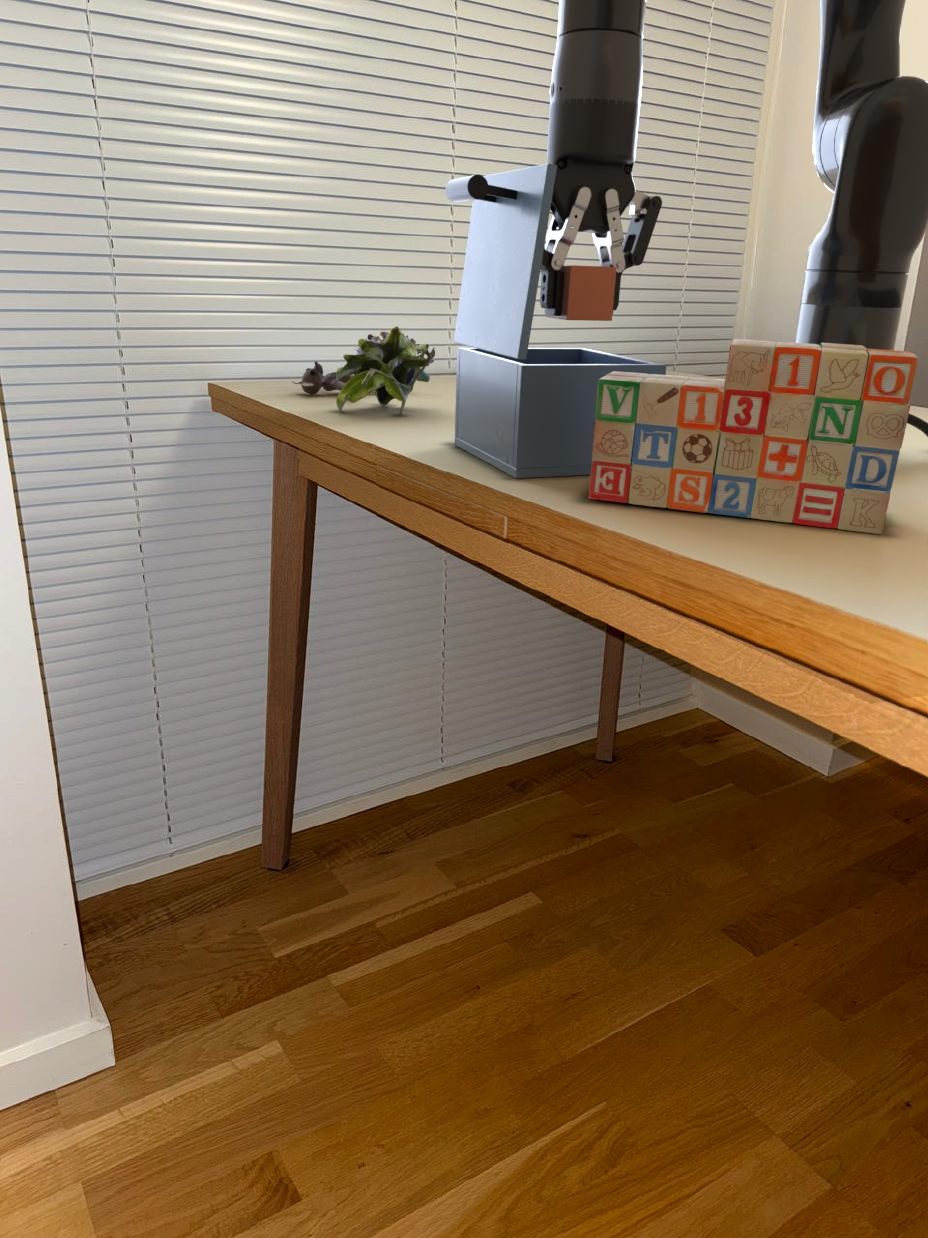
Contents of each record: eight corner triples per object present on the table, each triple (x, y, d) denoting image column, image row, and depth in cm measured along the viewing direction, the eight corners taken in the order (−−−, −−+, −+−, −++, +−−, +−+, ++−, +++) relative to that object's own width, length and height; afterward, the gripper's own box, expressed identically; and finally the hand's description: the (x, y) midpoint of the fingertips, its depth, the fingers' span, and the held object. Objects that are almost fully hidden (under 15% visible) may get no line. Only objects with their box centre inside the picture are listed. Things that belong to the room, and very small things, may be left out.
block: (589, 317, 87) (593, 266, 85) (612, 320, 83) (617, 266, 81) (545, 316, 85) (548, 264, 84) (566, 320, 81) (570, 265, 80)
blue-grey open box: (577, 440, 97) (584, 348, 94) (655, 471, 83) (666, 364, 80) (454, 444, 92) (457, 347, 89) (515, 478, 79) (521, 365, 76)
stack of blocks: (586, 501, 72) (599, 335, 67) (601, 485, 77) (615, 330, 73) (884, 534, 66) (921, 353, 61) (878, 514, 71) (911, 347, 67)
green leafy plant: (382, 449, 117) (426, 367, 118) (420, 448, 108) (467, 359, 109) (308, 399, 112) (354, 314, 113) (341, 394, 102) (391, 301, 103)
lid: (483, 178, 85) (429, 167, 83) (557, 165, 71) (495, 151, 69) (461, 343, 89) (409, 336, 87) (526, 360, 76) (467, 352, 74)
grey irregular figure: (427, 376, 120) (321, 366, 113) (424, 409, 121) (318, 402, 114) (373, 361, 135) (276, 352, 128) (371, 391, 136) (274, 384, 129)
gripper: (535, 86, 72) (522, 317, 78) (693, 103, 77) (669, 320, 83) (499, 100, 79) (489, 312, 85) (646, 114, 84) (627, 314, 90)
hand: (578, 314), depth 84 cm, fingers closed on block, 4 cm apart
